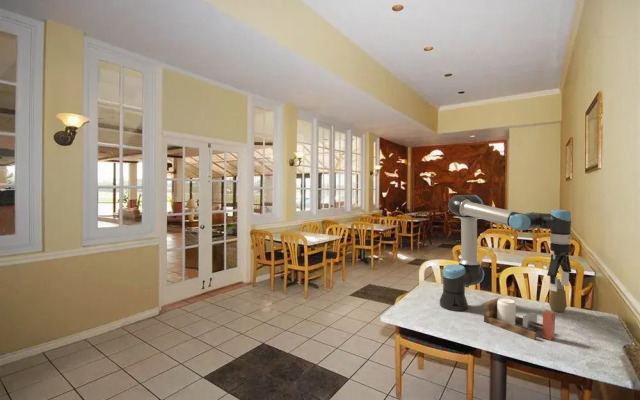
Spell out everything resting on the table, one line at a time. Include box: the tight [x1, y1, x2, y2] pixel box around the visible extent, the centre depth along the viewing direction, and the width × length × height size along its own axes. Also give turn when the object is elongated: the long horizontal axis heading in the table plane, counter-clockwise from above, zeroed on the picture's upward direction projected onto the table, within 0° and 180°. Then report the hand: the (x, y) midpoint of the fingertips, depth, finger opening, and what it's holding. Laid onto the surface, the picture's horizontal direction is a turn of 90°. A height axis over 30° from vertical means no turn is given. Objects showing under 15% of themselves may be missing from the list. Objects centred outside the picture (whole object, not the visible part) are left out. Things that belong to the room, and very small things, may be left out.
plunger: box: [522, 309, 556, 341], centre depth 149 cm, size 10×10×12 cm
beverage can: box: [497, 297, 517, 326], centre depth 162 cm, size 8×8×12 cm
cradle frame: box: [483, 297, 543, 341], centre depth 158 cm, size 24×14×10 cm, turn 33°
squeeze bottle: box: [548, 278, 568, 313], centre depth 179 cm, size 8×8×18 cm
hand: (559, 288), depth 150 cm, fingers open, 13 cm apart
